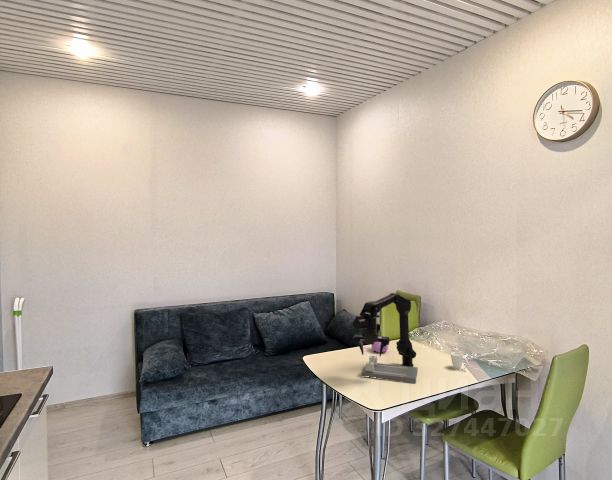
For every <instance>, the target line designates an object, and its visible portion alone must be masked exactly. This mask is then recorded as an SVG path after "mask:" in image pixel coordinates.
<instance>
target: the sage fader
mask: <svg viewBox="0 0 612 480" xmlns="http://www.w3.org/2000/svg"><path fill="white" fill-rule="evenodd" d="M365 365H366V371H370V372H373V371H374V363H373V362H369V361H366V362H365Z"/></svg>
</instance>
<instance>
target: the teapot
mask: <svg viewBox="0 0 612 480" xmlns="http://www.w3.org/2000/svg"><path fill="white" fill-rule="evenodd" d="M378 338H382V336H378ZM380 345H381V342H374V344H373V345H371V349H372V351H373V352H374V351H376V353H377V352H378V354H379V353H380ZM388 349H389V345H386V346H384V348H383V350H382V353H387V352H388Z"/></svg>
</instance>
